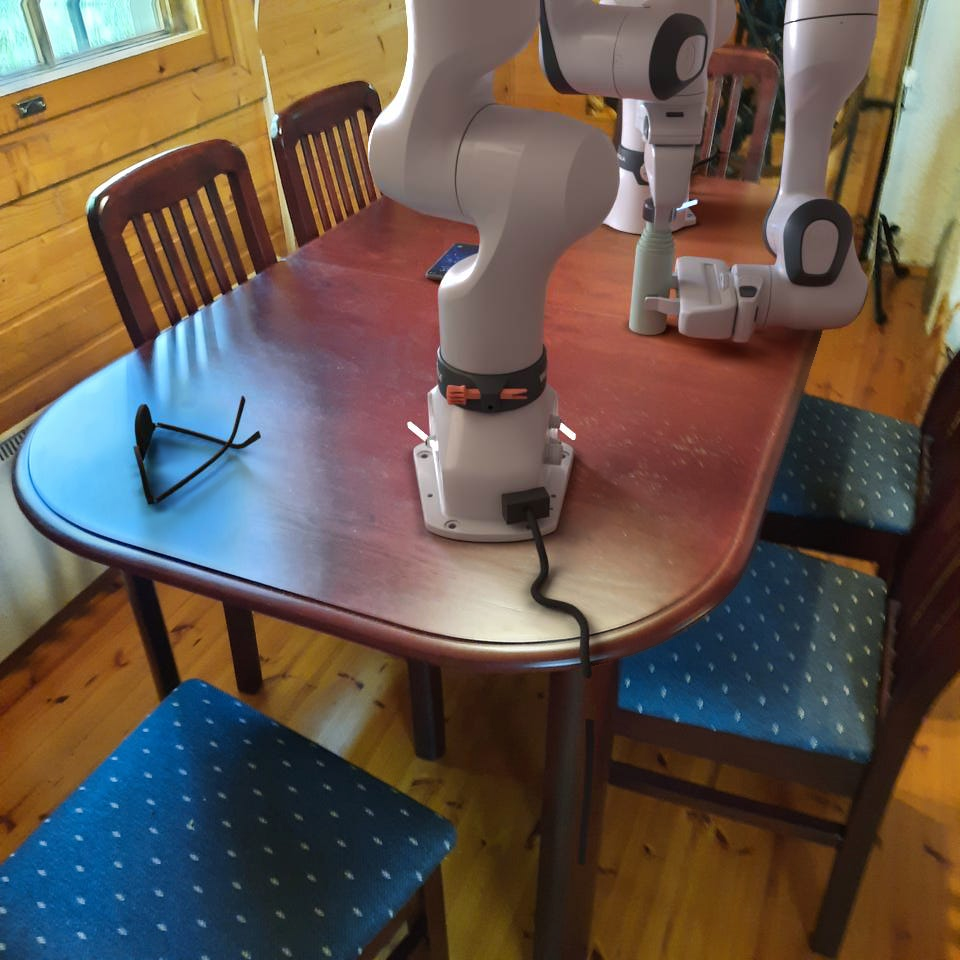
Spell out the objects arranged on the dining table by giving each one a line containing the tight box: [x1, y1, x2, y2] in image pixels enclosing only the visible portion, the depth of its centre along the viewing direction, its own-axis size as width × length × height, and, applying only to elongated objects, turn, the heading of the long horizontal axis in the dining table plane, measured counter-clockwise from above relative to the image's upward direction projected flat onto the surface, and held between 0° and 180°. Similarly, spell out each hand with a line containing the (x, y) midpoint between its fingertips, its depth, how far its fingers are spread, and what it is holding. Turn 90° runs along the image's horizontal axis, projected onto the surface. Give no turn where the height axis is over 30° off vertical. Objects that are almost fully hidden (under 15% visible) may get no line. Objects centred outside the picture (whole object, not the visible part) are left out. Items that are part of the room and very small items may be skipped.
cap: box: [642, 197, 677, 223], centre depth 116 cm, size 4×4×2 cm
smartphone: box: [424, 242, 480, 282], centre depth 146 cm, size 7×1×15 cm
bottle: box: [628, 221, 676, 336], centre depth 121 cm, size 5×5×18 cm
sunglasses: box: [132, 395, 262, 506], centre depth 100 cm, size 17×14×5 cm
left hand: (658, 219), depth 117 cm, fingers open, 5 cm apart
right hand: (644, 292), depth 124 cm, fingers closed on bottle, 5 cm apart
